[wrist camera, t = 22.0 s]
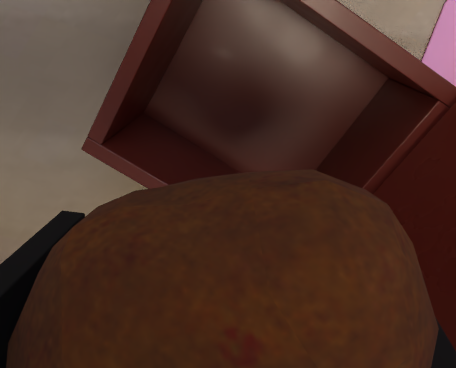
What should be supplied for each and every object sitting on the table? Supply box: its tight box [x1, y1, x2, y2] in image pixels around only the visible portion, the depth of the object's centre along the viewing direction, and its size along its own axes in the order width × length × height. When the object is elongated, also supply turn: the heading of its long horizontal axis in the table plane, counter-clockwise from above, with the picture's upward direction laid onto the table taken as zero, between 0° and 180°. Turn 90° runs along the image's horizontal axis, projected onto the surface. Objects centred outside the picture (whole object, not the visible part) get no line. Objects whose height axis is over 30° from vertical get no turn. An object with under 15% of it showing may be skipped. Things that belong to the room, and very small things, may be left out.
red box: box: [82, 0, 456, 194], centre depth 26 cm, size 17×15×10 cm
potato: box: [6, 169, 439, 368], centre depth 9 cm, size 8×11×8 cm
